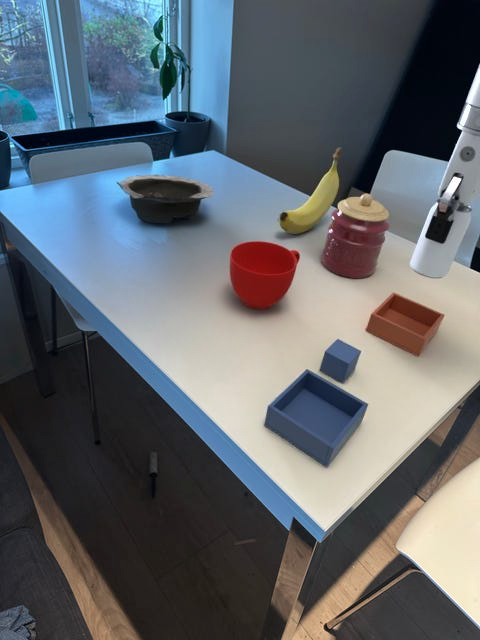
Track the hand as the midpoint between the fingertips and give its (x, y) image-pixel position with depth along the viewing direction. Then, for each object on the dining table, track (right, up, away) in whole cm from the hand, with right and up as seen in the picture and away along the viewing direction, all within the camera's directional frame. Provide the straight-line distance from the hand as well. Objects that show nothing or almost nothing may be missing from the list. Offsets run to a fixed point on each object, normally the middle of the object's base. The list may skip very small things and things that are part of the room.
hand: (441, 232), depth 75 cm
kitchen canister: (-8, -2, +32) cm, 33 cm away
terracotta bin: (-2, -17, +13) cm, 21 cm away
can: (-1, -6, +4) cm, 7 cm away
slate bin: (-23, -30, -8) cm, 39 cm away
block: (-17, -23, +2) cm, 29 cm away
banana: (-17, +10, +46) cm, 50 cm away
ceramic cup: (-29, -10, +17) cm, 35 cm away
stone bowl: (-54, +15, +46) cm, 72 cm away
